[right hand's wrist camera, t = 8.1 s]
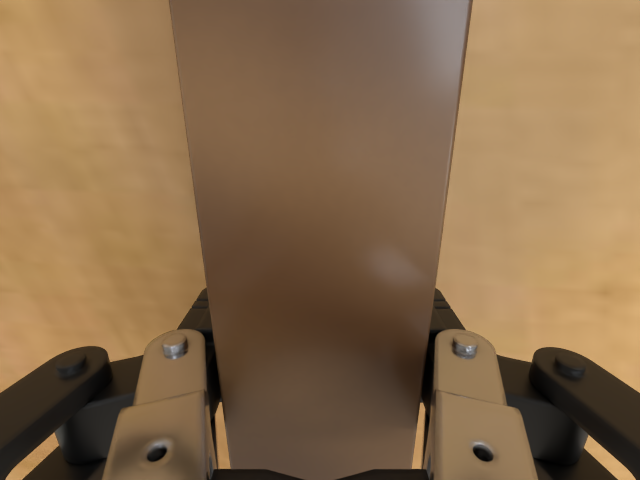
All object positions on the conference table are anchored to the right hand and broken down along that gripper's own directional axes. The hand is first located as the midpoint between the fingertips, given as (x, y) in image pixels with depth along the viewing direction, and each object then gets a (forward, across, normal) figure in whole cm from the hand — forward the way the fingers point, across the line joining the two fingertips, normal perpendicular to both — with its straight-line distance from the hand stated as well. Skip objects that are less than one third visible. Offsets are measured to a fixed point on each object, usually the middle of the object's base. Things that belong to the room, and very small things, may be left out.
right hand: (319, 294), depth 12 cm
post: (+2, 0, -37) cm, 37 cm away
